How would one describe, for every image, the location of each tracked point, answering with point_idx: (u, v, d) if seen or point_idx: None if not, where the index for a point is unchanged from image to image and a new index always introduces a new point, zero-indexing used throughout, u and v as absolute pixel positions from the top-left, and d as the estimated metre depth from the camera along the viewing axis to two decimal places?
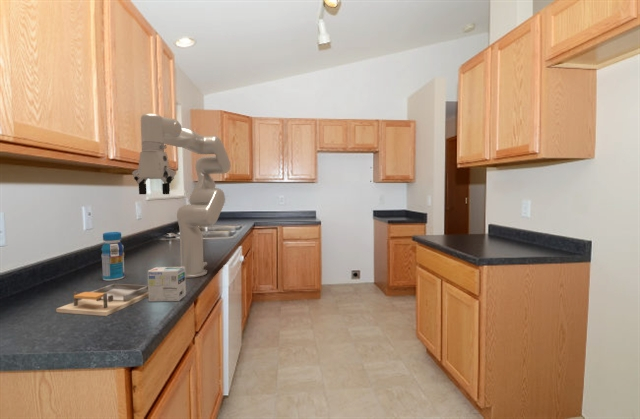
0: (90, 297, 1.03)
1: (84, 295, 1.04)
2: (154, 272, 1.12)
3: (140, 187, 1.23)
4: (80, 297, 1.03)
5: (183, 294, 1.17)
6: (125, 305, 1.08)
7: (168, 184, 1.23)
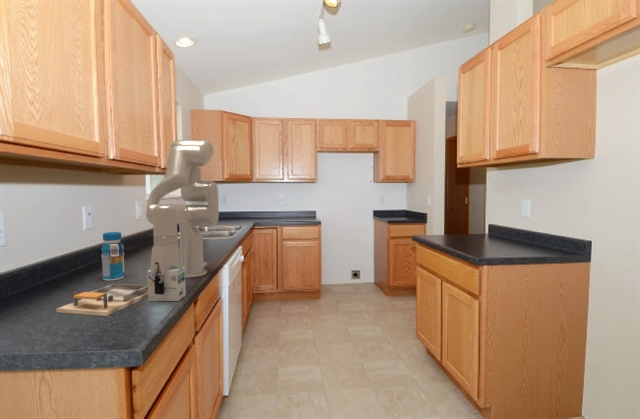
0: (90, 297, 1.03)
1: (84, 295, 1.04)
2: None
3: (163, 286, 1.12)
4: (80, 297, 1.03)
5: (183, 294, 1.17)
6: (125, 305, 1.08)
7: None
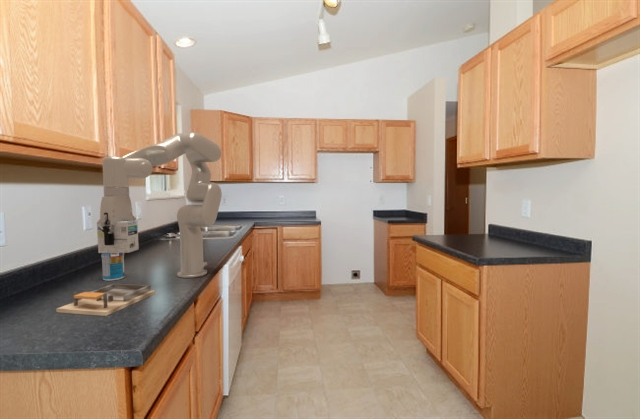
0: (90, 297, 1.03)
1: (84, 295, 1.04)
2: None
3: (113, 237, 1.11)
4: (80, 297, 1.03)
5: (135, 247, 1.16)
6: (125, 305, 1.08)
7: None
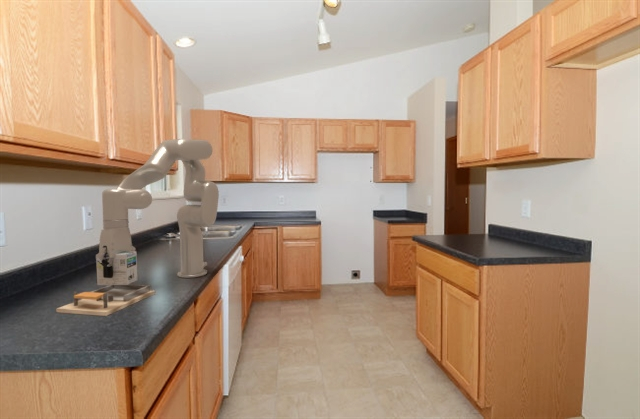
0: (90, 297, 1.03)
1: (84, 295, 1.04)
2: None
3: (112, 270, 1.12)
4: (80, 297, 1.03)
5: (134, 278, 1.17)
6: (125, 305, 1.08)
7: None
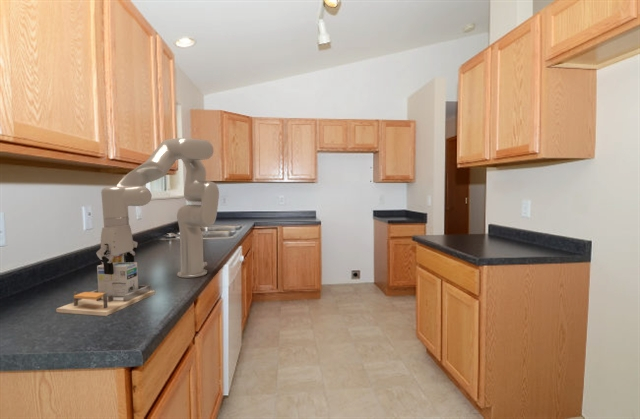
0: (90, 297, 1.03)
1: (84, 295, 1.04)
2: (103, 267, 1.12)
3: (112, 266, 1.12)
4: (80, 297, 1.03)
5: (134, 290, 1.17)
6: (125, 305, 1.08)
7: None
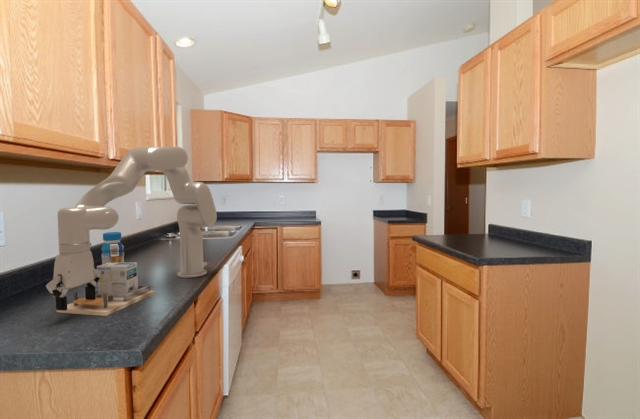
0: (90, 302, 1.03)
1: (84, 300, 1.04)
2: (103, 267, 1.12)
3: (66, 301, 0.95)
4: (80, 302, 1.03)
5: (134, 290, 1.17)
6: (125, 305, 1.08)
7: None
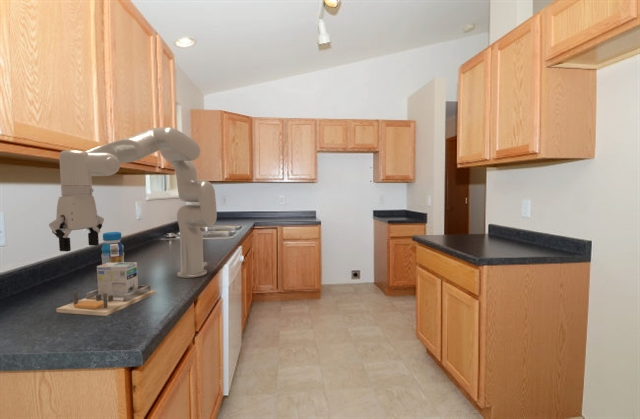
0: (90, 306, 1.03)
1: (84, 304, 1.04)
2: (103, 267, 1.12)
3: (69, 242, 0.96)
4: (80, 306, 1.03)
5: (134, 290, 1.17)
6: (125, 305, 1.08)
7: None
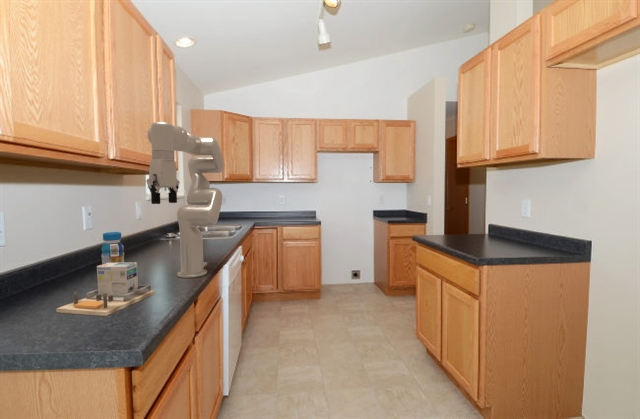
0: (90, 306, 1.03)
1: (84, 304, 1.04)
2: (103, 267, 1.12)
3: None
4: (80, 306, 1.03)
5: (134, 290, 1.17)
6: (125, 305, 1.08)
7: None
